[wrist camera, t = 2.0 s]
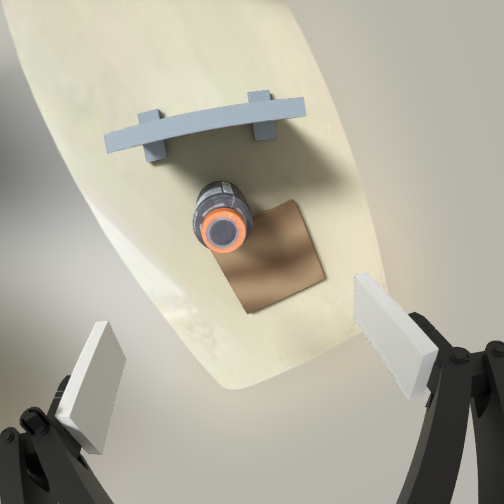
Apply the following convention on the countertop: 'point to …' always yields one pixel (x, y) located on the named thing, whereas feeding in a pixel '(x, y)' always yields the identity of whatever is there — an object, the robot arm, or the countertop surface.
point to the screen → (205, 123)
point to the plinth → (272, 259)
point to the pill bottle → (222, 217)
